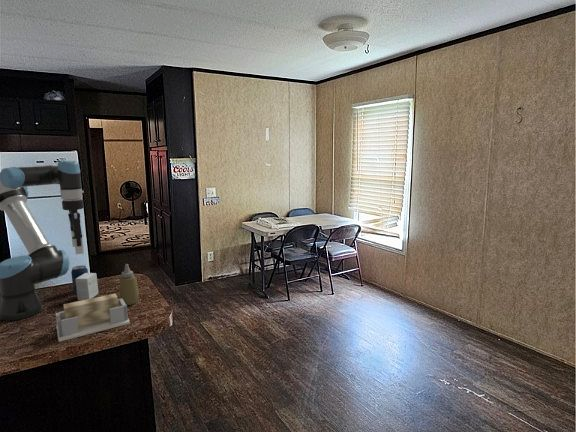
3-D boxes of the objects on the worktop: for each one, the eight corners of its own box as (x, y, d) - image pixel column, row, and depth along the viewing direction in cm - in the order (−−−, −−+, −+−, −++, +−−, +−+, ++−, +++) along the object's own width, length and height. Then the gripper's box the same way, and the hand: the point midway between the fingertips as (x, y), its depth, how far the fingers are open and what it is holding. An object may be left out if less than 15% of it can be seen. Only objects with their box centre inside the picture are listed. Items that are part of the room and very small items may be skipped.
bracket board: (58, 341, 130) (56, 323, 129) (56, 328, 140) (54, 311, 138) (129, 323, 143) (128, 306, 142) (123, 312, 153) (122, 296, 152)
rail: (66, 328, 134) (64, 308, 133) (65, 324, 138) (63, 304, 136) (119, 316, 144) (117, 297, 143) (117, 312, 148) (115, 293, 146)
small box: (87, 293, 174) (85, 272, 172) (98, 293, 174) (96, 272, 172) (77, 300, 166) (74, 278, 164) (89, 300, 166) (86, 278, 164)
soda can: (72, 290, 178) (69, 266, 176) (88, 287, 182) (86, 264, 180) (74, 294, 172) (71, 270, 170) (90, 291, 176) (88, 267, 174)
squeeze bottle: (126, 308, 157) (122, 268, 154) (116, 303, 162) (112, 265, 159) (143, 302, 164) (140, 263, 160) (133, 297, 168) (130, 260, 165)
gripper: (86, 202, 139) (92, 255, 143) (79, 195, 160) (84, 242, 163) (63, 204, 135) (70, 258, 139) (59, 196, 155) (65, 244, 159)
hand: (78, 250), depth 151 cm, fingers open, 13 cm apart
